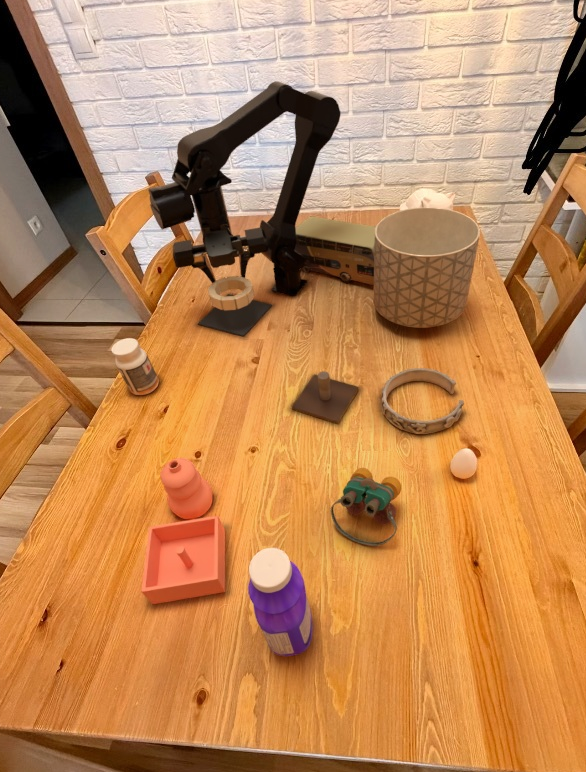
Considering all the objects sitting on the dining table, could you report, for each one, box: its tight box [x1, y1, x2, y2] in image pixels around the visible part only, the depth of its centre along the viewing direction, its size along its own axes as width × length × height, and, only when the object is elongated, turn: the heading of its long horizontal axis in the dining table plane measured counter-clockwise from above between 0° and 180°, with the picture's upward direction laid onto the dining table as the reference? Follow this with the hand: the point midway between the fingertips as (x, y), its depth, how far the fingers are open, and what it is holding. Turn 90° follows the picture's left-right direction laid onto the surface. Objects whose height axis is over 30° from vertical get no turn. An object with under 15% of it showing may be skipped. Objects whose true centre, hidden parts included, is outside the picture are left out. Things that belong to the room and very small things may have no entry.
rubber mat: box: [197, 294, 273, 337], centre depth 102 cm, size 12×12×1 cm
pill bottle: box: [111, 337, 160, 396], centre depth 85 cm, size 6×6×10 cm
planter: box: [373, 207, 481, 329], centre depth 91 cm, size 19×19×18 cm
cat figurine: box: [399, 187, 456, 211], centre depth 109 cm, size 25×10×17 cm, turn 8°
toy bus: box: [295, 216, 376, 286], centre depth 108 cm, size 10×23×10 cm, turn 58°
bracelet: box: [381, 367, 465, 435], centre depth 79 cm, size 14×14×3 cm
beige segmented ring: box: [207, 275, 255, 310], centre depth 96 cm, size 9×9×2 cm
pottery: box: [141, 457, 226, 605], centre depth 63 cm, size 18×10×10 cm, turn 8°
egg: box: [449, 447, 478, 480], centre depth 68 cm, size 4×4×6 cm
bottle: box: [247, 547, 314, 657], centre depth 50 cm, size 7×6×17 cm
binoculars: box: [330, 467, 402, 547], centre depth 62 cm, size 9×9×10 cm
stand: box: [291, 370, 360, 425], centre depth 80 cm, size 9×9×6 cm
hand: (229, 284), depth 99 cm, fingers closed on beige segmented ring, 5 cm apart
